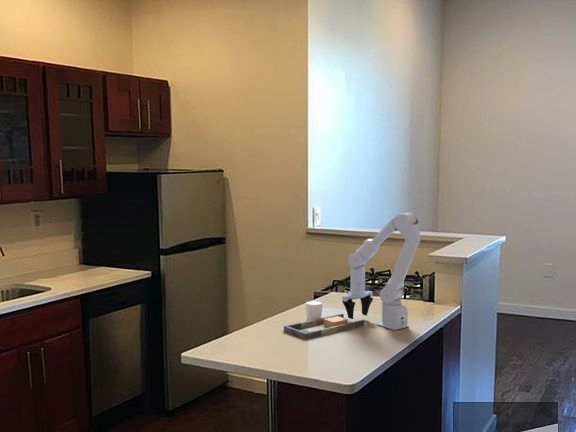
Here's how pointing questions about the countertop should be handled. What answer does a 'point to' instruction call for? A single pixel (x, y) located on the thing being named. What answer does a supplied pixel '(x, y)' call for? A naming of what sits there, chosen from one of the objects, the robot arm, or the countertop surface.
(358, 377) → the countertop surface
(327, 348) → the countertop surface
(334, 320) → the brick block
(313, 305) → the shot glass
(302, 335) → the channel
